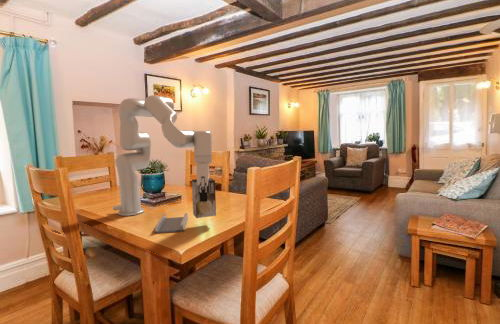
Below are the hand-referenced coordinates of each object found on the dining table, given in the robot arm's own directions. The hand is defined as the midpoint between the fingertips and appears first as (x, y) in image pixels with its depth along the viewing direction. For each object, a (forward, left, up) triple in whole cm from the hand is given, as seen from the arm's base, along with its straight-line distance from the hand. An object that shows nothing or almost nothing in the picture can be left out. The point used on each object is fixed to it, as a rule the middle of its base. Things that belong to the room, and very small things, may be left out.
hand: (204, 198), depth 122 cm
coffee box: (0, 0, -8) cm, 8 cm away
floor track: (-14, +3, -12) cm, 19 cm away
